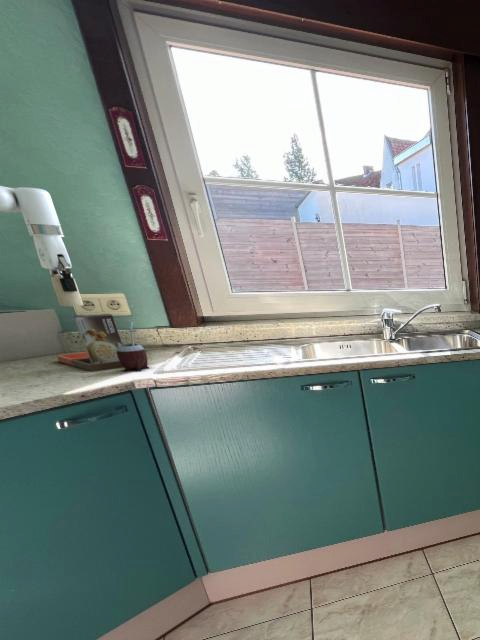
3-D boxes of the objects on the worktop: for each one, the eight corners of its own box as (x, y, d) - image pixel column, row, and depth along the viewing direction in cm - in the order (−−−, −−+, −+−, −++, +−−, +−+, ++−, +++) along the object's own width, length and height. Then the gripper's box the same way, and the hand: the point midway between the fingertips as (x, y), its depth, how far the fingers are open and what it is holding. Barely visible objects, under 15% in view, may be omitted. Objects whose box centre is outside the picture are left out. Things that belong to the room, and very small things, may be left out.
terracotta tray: (72, 365, 164) (70, 359, 163) (59, 361, 169) (56, 355, 168) (126, 358, 176) (124, 353, 175) (112, 355, 181) (110, 349, 180)
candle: (86, 305, 165) (75, 274, 162) (63, 306, 161) (51, 274, 157) (80, 304, 168) (69, 273, 164) (57, 305, 163) (46, 273, 160)
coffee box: (127, 360, 171) (111, 313, 165) (129, 363, 167) (113, 315, 161) (90, 363, 165) (73, 314, 159) (92, 367, 161) (74, 316, 155)
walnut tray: (91, 371, 158) (89, 364, 157) (74, 366, 163) (72, 359, 163) (146, 364, 169) (144, 358, 169) (128, 359, 175) (126, 353, 174)
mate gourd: (126, 372, 157) (111, 325, 152) (118, 369, 161) (102, 322, 156) (155, 369, 163) (141, 323, 158) (146, 365, 167) (132, 320, 162)
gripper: (19, 230, 157) (41, 289, 163) (39, 231, 149) (61, 293, 156) (51, 232, 163) (71, 289, 169) (73, 232, 155) (92, 292, 162)
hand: (66, 290), depth 163 cm, fingers closed on candle, 5 cm apart
